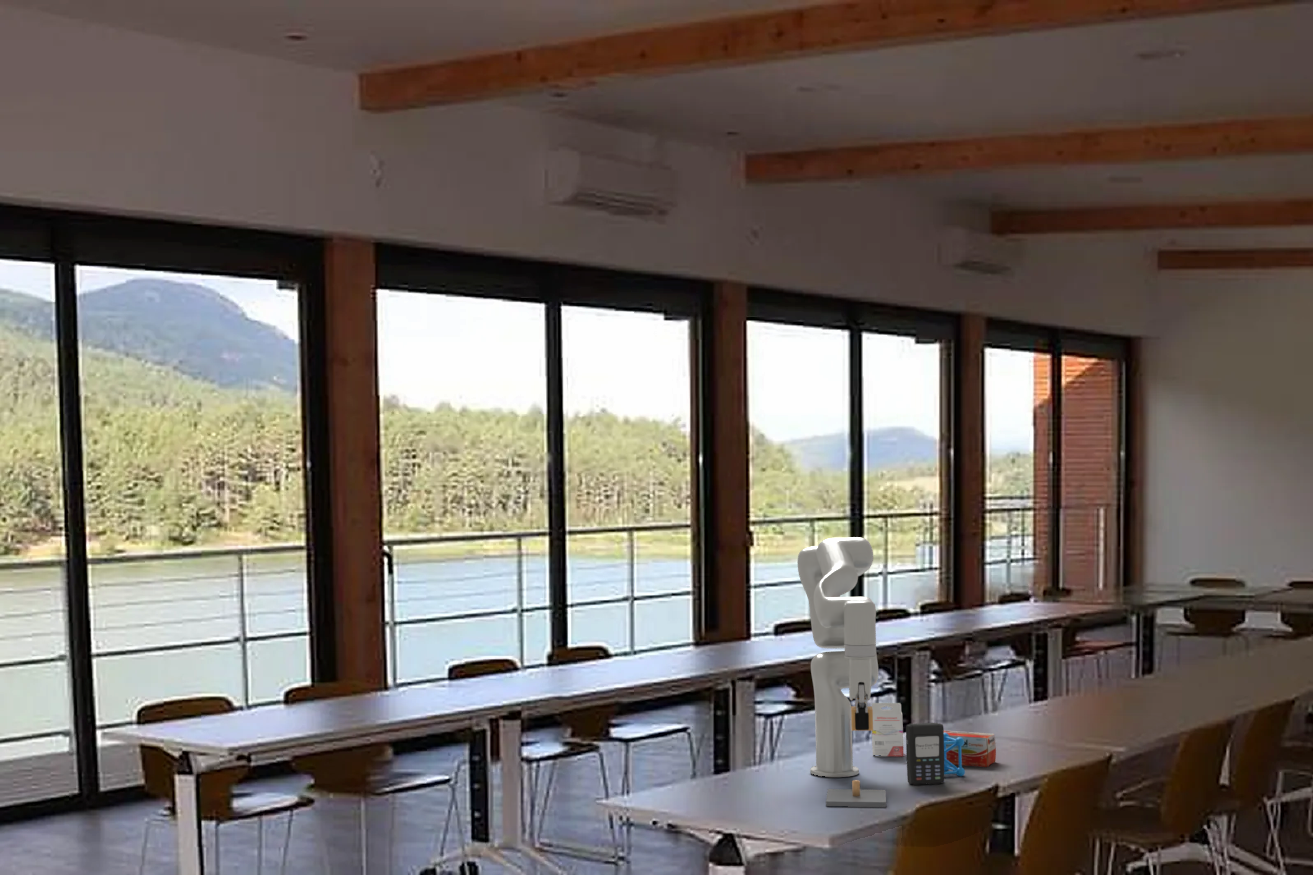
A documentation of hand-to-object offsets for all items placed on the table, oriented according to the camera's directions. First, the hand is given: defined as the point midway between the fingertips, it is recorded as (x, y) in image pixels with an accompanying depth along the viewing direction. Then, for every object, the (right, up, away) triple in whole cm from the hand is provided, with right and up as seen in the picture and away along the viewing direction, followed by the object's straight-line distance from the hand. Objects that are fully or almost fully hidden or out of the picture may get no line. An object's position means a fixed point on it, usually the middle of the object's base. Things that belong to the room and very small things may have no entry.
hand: (861, 727), depth 367 cm
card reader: (+18, -18, +18) cm, 31 cm away
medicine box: (+34, -18, +44) cm, 59 cm away
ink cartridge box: (+15, -19, +57) cm, 62 cm away
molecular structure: (+24, -18, +29) cm, 42 cm away
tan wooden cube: (0, 0, 0) cm, 0 cm away
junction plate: (-1, -17, -1) cm, 17 cm away
